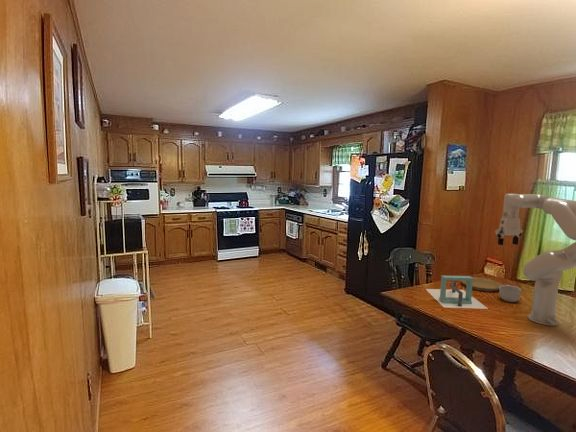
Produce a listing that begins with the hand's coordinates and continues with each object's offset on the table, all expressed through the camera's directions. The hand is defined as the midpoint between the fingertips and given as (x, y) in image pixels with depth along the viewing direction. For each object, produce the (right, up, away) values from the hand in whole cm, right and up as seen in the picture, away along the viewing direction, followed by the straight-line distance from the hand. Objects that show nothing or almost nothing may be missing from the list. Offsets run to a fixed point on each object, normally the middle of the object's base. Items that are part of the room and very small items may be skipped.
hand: (507, 244), depth 189 cm
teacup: (+7, -35, +10) cm, 37 cm away
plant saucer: (+4, -32, +33) cm, 46 cm away
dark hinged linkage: (-26, -33, +7) cm, 43 cm away
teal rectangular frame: (-29, -34, +2) cm, 45 cm away
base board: (-27, -34, +8) cm, 44 cm away
